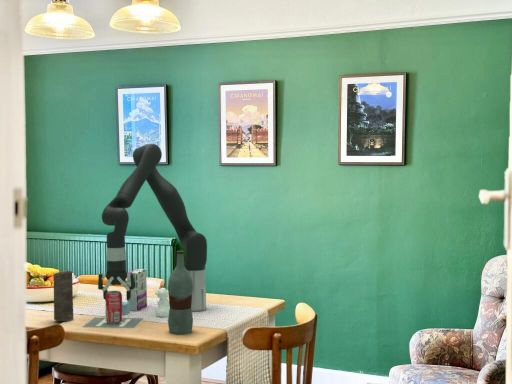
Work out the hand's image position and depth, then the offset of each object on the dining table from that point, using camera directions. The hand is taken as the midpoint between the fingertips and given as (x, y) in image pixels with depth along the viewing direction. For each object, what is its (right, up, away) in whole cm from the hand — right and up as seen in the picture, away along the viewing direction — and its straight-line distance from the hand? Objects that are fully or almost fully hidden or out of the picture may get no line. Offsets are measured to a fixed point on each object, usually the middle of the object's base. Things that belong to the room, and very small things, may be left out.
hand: (117, 300), depth 258 cm
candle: (-22, -9, +3) cm, 24 cm away
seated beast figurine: (+17, -9, +12) cm, 22 cm away
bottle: (+26, -10, -13) cm, 31 cm away
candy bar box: (+3, -8, +28) cm, 29 cm away
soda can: (-1, -9, -1) cm, 9 cm away
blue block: (-1, -9, +15) cm, 17 cm away
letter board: (-1, -9, -1) cm, 9 cm away
